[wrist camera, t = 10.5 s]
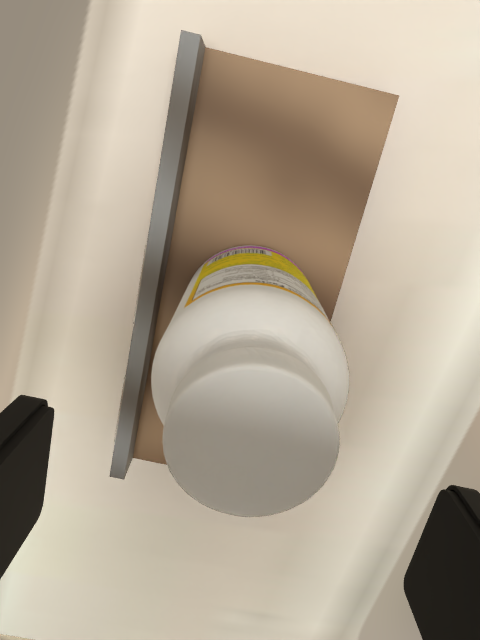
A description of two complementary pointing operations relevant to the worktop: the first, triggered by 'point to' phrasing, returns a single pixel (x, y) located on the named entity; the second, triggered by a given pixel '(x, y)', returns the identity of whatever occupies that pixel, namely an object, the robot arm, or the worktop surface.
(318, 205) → the shelf
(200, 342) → the supplement bottle
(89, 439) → the worktop surface
